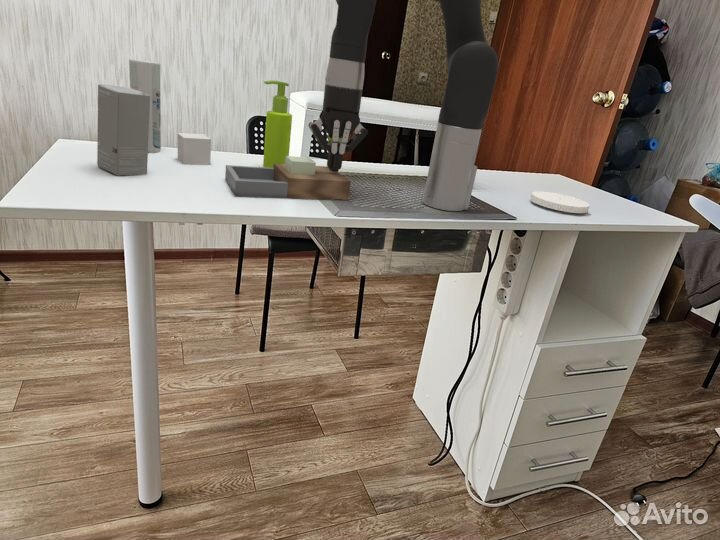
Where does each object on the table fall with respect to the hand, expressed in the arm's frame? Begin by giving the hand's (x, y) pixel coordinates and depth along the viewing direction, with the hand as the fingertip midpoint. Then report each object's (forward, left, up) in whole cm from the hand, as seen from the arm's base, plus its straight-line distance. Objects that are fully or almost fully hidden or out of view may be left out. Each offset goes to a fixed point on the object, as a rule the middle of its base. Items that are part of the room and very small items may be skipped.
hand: (333, 170), depth 107 cm
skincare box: (+41, -9, -5) cm, 42 cm away
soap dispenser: (+8, -19, -5) cm, 21 cm away
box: (+16, 0, -4) cm, 17 cm away
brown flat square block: (+5, 0, -4) cm, 7 cm away
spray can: (+36, -32, -5) cm, 49 cm away
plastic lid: (-59, +6, -5) cm, 59 cm away
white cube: (+26, -22, -5) cm, 35 cm away
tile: (+7, 0, 0) cm, 7 cm away
